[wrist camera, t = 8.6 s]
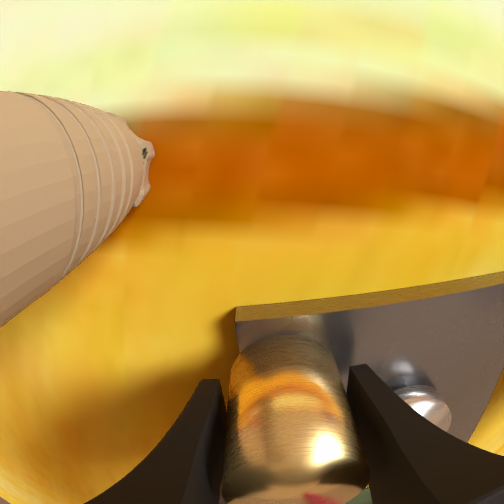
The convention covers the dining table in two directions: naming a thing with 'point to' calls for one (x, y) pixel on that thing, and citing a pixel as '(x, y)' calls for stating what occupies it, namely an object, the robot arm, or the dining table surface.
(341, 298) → the crank base
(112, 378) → the dining table surface
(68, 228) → the handle
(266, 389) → the pin
